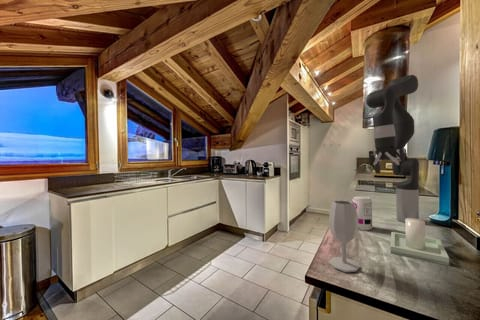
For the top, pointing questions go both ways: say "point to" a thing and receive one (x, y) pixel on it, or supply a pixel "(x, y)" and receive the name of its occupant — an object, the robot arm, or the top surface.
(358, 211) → the supplement can
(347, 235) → the wineglass
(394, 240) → the tray
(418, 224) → the white domed cylinder
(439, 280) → the top surface
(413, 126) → the robot arm
